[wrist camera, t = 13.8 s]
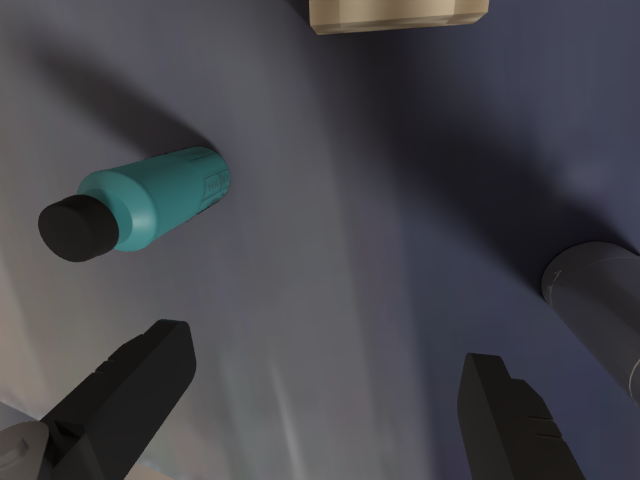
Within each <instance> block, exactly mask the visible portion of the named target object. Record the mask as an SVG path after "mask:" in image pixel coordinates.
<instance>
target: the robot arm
mask: <svg viewBox="0 0 640 480" xmlns="http://www.w3.org/2000/svg"><path fill="white" fill-rule="evenodd" d="M541 290H542V294H543V297H544V299H545V300H546V302H547V303H548V304H549V305H550V306H551V307H552V309H553V310H554V311H555V312H556V313H557V314H558V316H559V317H560V318H561V319H562V320H563V321H564V323H565V324H566V325H567V326H568V327H569V328H570V330H571V331H572V332H573V333H574V334H575V335H576V336H577V338H578V339H579V340H580V341H581V342H582V343H583V344H584V346H585V347H586V348H587V349H588V350H589V351H590V352H591V354H592V355H593V356H594V357H595V358H596V359H597V360H598V362H599V363H600V364H601V365H602V366H603V367H604V368H605V370H606V371H607V372H608V373H609V374H610V375H611V376H612V378H613V379H614V380H615V381H616V382H617V383H618V384H619V386H620V387H621V388H622V389H623V390H624V391H625V392H626V394H627V395H628V396H629V397H630V398H631V399H632V400H633V402H634V403H635V404H636V405H637V406H638V407H639V408H640V256H636V255H635V254H633V253H631V252H629V251H628V250H626V249H624V248H622V247H620V246H618V245H616V244H612V243H608V242H588V243H583V244H579V245H576V246H573V247H571V248H569V249H567V250H565V251H563V252H562V253H561V254H559V255H558V256H556V257H555V258H554V259H553V260H552V261H551V263H550V264H549V265H548V267H547V268H546V270H545V271H544V274H543V277H542V281H541ZM195 371H196V357H195V352H194V347H193V342H192V337H191V332H190V327H189V325H188V323H187V322H185V321H176V320H167V319H161V320H158V321H157V322H156V323H155V324H154V325H153V326H151V327H150V328H149V329H148V330H147V331H146V332H145V333H144V334H140V335H139V336H137V337H135V338H134V339H132V340H130V341H128V342H127V343H125V344H123V345H122V346H121V347H120V348H118V349H117V350H116V351H115V352H114V353H113V354H112V355H111V356H110V357H109V358H108V360H107V361H104V362H103V363H102V364H101V365H100V366H99V367H98V368H97V369H96V371H95V373H91V374H90V375H89V376H88V377H87V378H86V379H85V380H84V381H83V382H81V383H80V384H79V385H78V386H77V387H76V388H75V389H74V390H73V391H72V392H71V393H70V394H68V395H67V396H66V397H65V398H64V399H63V400H62V401H61V402H60V403H59V404H58V405H56V406H55V407H54V408H53V409H52V410H51V411H50V412H49V413H48V414H47V415H46V416H44V417H43V418H42V419H41V420H40V421H28V422H22V423H19V424H16V425H13V426H10V427H8V428H6V429H4V430H2V431H0V480H124V478H125V477H126V475H127V474H128V472H129V471H130V469H131V468H132V467H133V465H134V464H135V462H136V461H137V459H138V458H139V457H140V455H141V454H142V452H143V451H144V449H145V448H146V447H147V445H148V444H149V442H150V441H151V439H152V438H153V436H154V435H155V434H156V432H157V431H158V429H159V428H160V426H161V425H162V424H163V422H164V421H165V419H166V418H167V416H168V415H169V413H170V412H171V411H172V409H173V408H174V406H175V405H176V403H177V402H178V401H179V399H180V398H181V396H182V395H183V393H184V392H185V390H186V389H187V388H188V386H189V385H190V383H191V382H192V380H193V377H194V375H195ZM457 410H458V419H459V424H460V428H461V433H462V437H463V441H464V446H465V450H466V454H467V458H468V463H469V467H470V471H471V475H472V480H586V479H585V477H584V475H583V473H582V472H581V470H580V468H579V466H578V464H577V462H576V460H575V459H574V457H573V455H572V453H571V451H570V449H569V447H568V445H567V444H566V442H564V441H563V436H562V434H561V432H560V430H559V429H558V427H557V425H556V423H554V422H553V417H552V416H551V414H550V412H549V410H548V408H547V406H546V404H545V402H544V401H543V399H542V398H541V397H540V396H539V395H538V394H537V393H536V392H535V391H534V390H533V389H532V388H531V387H530V386H529V385H528V384H527V383H526V382H525V381H524V380H519V379H511V378H510V375H509V373H508V371H507V369H506V367H505V364H504V362H503V360H502V359H501V357H500V356H495V355H485V354H476V353H467V355H466V357H465V362H464V367H463V372H462V377H461V382H460V387H459V393H458V400H457Z"/></svg>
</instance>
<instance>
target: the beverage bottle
mask: <svg viewBox="0 0 640 480" xmlns="http://www.w3.org/2000/svg"><path fill="white" fill-rule="evenodd" d="M181 149H182V148H181ZM177 150H178V149H177ZM173 151H174V150H173ZM150 157H152V156H150ZM229 185H230V173H229V169H228V167H227V165H226V163H225V161H224V160H223V159H222V157H221V156H220V155H218V154H217V153H216V152H214V151H213V150H210V149H207V147H206V148H204V146H203V147H197V146H196V147H192V148H188V149H183V150H180V151H176V152H172V153H168V154H167V153H165V154H164V155H162V154H159V155H158V156H155V157H152V158H148V159H146V157H145V160H142V161H139V162H135V163H131V164H127V165H123V166H120V167H116V168H112V169H108V170H100V171H96V172H93V173H91V174H90V175H88V176H87V177H85V178H84V179H83V181H82V182H81V184H80V186H79V188H78V191H77V195H73V196H70V197H67V198H65V199H63V200H61V201H59V202H57V203H54V204H52V205H49V206H48V207H46V208H45V209H44V210H43V211H42V212H41V214H40V216H39V220H38V227H39V232H40V235H41V237H42V239H43V241H44V242H45V244H46V245H47V246H48V247H49V249H50V250H51V251H53V252H54V253H55V254H56V255H58V256H59V257H61V258H63V259H65V260H67V261H71V262H83V261H87V260H89V259H92V258H94V257H96V256H100V255H103V254H105V253H107V252H108V251H110V250H112V249H116V250H119V251H137V250H140V249H142V248H144V247H146V246H147V245H149V244H150V243H151V242H152V241H154V240H155V239H157V238H158V237H160V236H162V235H163V234H165V233H166V232H168V231H170V230H171V229H173V228H174V227H176V226H178V225H180V224H182V223H183V222H185V221H186V220H188V219H189V220H191V217H193V216H194V215H196V214H199V213H201V212H202V211H204V210H205V209H207V208H209V207H210V206H212V205H213V204H215V203H216V201H217V202H218V201H219V199H220V198H222V197H223V196H224V195H225V193H226V192H228V191H227V190H228V189H229V188H228V187H229ZM226 194H227V193H226ZM223 198H224V197H223ZM214 202H215V203H214ZM211 204H212V205H211ZM200 211H201V212H200ZM187 222H188V221H187ZM183 225H184V224H183ZM175 229H176V228H175Z"/></svg>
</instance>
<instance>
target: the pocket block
mask: <svg viewBox="0 0 640 480" xmlns="http://www.w3.org/2000/svg"><path fill="white" fill-rule="evenodd" d="M488 5H489V0H309V10H310V26H311V27H312V29H313V30H314V31H315V32H316V34H317V35H324V34H337V33H351V32H365V31H379V30H392V29H406V28H420V27H434V26H447V25H461V24H474V23H475V22H476V21H477V20H478V19H480V18H481V17H482V16H483V15H484V14H486V13H487V12H488Z"/></svg>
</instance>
